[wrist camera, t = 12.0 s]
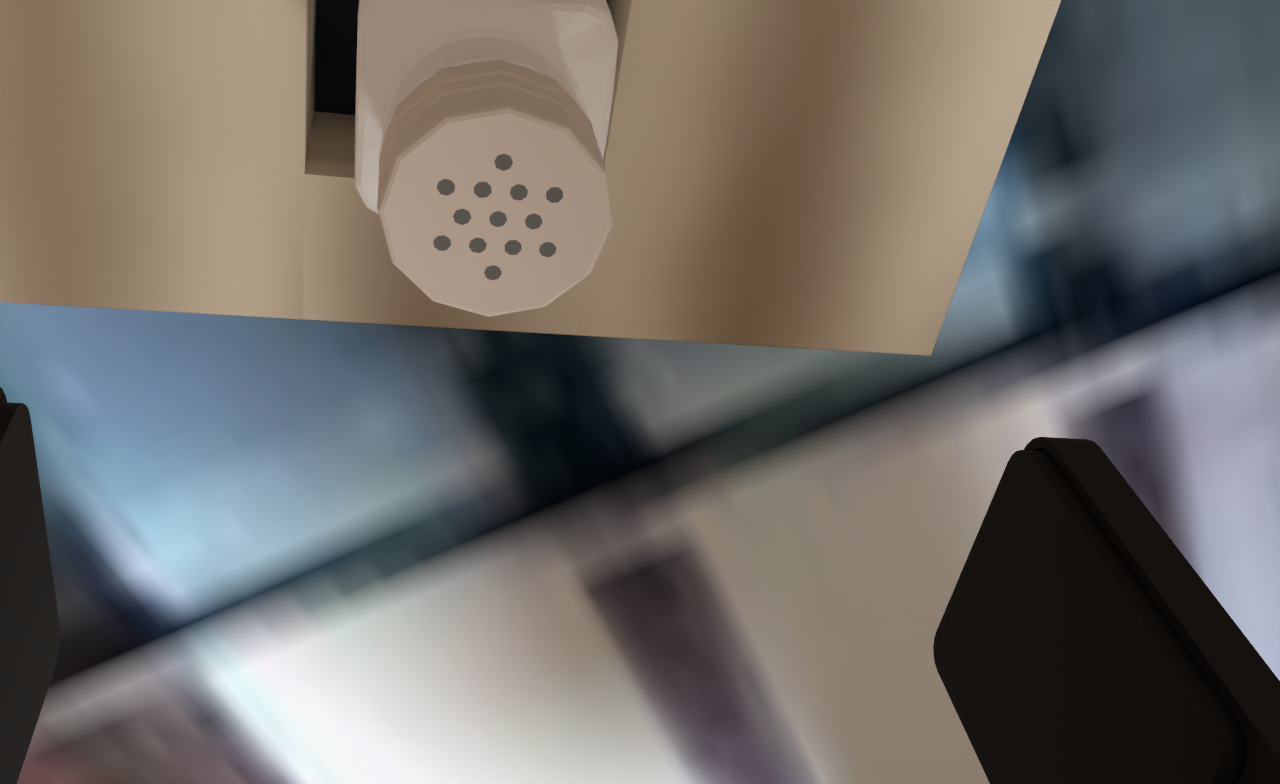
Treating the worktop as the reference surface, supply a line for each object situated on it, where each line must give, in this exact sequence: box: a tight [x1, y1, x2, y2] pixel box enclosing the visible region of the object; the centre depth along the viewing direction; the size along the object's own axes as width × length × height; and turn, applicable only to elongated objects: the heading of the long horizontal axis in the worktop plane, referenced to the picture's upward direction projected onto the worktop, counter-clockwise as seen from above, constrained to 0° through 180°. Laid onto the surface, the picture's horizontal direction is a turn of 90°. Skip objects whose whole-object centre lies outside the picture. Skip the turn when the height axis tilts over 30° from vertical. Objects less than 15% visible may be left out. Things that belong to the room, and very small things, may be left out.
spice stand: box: [0, 0, 1061, 356], centre depth 22 cm, size 22×12×3 cm, turn 80°
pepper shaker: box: [354, 0, 618, 317], centre depth 20 cm, size 4×4×10 cm
